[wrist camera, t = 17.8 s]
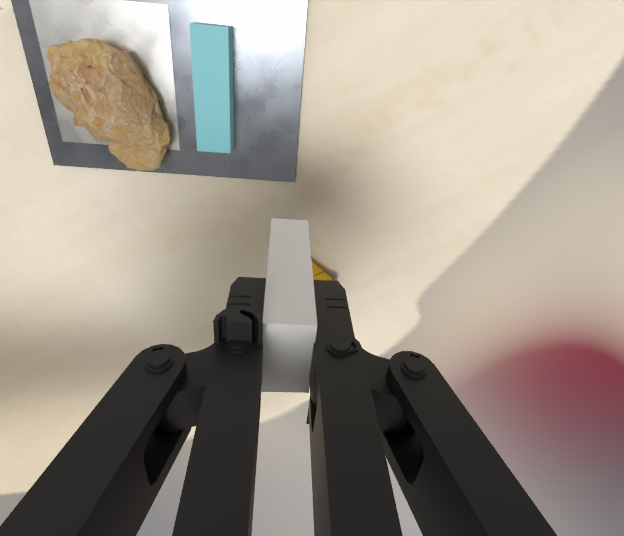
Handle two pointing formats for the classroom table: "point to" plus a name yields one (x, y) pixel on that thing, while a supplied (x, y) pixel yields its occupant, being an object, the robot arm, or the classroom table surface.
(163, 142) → the stone tool
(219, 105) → the bar
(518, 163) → the classroom table surface
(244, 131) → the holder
